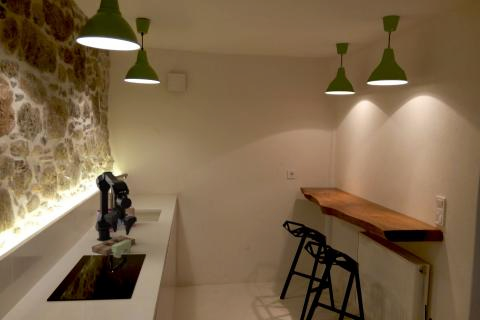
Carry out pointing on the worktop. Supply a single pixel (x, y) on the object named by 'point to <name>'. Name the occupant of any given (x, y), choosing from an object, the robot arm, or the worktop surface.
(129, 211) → the gum box
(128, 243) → the sage green tapered block
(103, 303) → the worktop surface
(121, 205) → the robot arm
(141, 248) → the worktop surface
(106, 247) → the brown wooden flat panel
